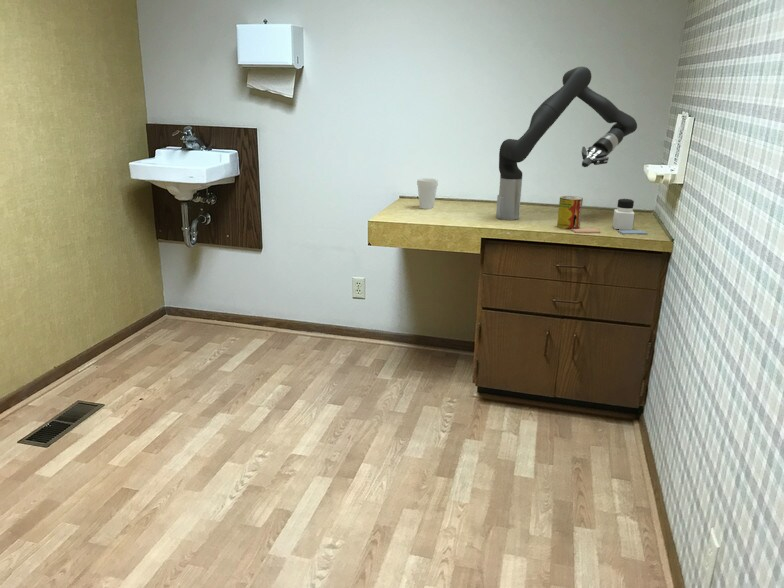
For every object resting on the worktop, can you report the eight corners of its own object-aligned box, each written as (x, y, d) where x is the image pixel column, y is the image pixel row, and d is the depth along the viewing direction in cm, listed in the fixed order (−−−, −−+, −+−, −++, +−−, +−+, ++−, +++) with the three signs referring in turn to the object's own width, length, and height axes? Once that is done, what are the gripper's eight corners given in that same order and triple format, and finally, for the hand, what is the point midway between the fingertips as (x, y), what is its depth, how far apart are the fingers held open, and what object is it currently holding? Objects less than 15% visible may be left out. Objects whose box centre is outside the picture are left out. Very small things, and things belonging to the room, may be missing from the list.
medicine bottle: (632, 230, 258) (636, 201, 254) (614, 229, 259) (618, 200, 256) (630, 227, 265) (634, 198, 261) (612, 226, 266) (615, 197, 262)
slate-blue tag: (623, 234, 251) (623, 233, 250) (617, 231, 255) (617, 230, 255) (647, 234, 252) (647, 233, 252) (641, 231, 256) (641, 230, 256)
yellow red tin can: (562, 229, 258) (565, 199, 254) (553, 224, 266) (556, 196, 262) (583, 229, 259) (586, 199, 255) (573, 224, 268) (576, 195, 264)
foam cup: (437, 210, 292) (438, 181, 288) (416, 209, 292) (417, 181, 288) (435, 206, 301) (437, 178, 297) (416, 205, 301) (417, 178, 297)
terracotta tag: (575, 233, 252) (576, 231, 251) (571, 230, 256) (571, 228, 256) (600, 233, 253) (600, 231, 252) (595, 230, 257) (595, 228, 257)
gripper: (593, 132, 275) (571, 151, 267) (621, 144, 269) (599, 164, 261) (589, 146, 281) (568, 165, 273) (617, 158, 275) (596, 178, 267)
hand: (583, 165), depth 267 cm, fingers closed
